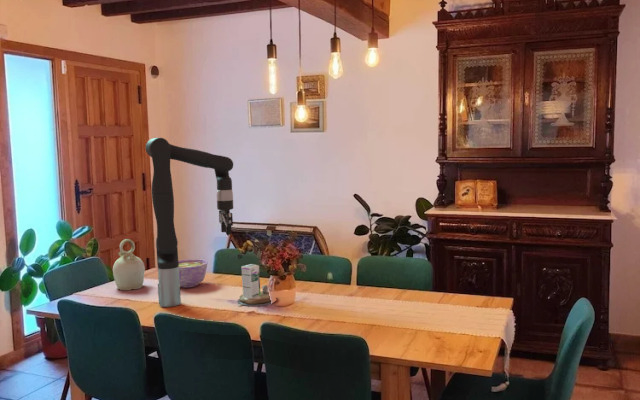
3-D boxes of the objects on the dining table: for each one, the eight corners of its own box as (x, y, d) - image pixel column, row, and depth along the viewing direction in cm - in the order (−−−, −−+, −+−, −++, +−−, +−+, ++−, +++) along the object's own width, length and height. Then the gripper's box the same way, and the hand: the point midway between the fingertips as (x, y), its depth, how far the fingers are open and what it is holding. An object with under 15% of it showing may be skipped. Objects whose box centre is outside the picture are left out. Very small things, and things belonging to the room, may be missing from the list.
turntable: (232, 301, 272) (232, 291, 272) (254, 292, 286) (254, 283, 285) (260, 305, 264) (260, 295, 263) (281, 296, 277) (281, 286, 277)
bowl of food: (161, 289, 300) (159, 266, 299) (181, 280, 319) (180, 258, 318) (196, 291, 295) (195, 268, 293) (215, 281, 314) (214, 259, 312)
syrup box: (251, 299, 268) (250, 267, 267) (242, 297, 272) (241, 265, 271) (260, 296, 273) (259, 264, 271) (251, 294, 277) (250, 263, 275)
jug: (112, 286, 310) (109, 238, 308) (143, 282, 317) (140, 235, 314) (115, 292, 297) (112, 243, 294) (148, 288, 303) (144, 239, 300)
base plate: (242, 309, 262) (242, 307, 262) (229, 299, 278) (229, 298, 278) (283, 302, 271) (283, 301, 271) (268, 293, 287) (268, 292, 287)
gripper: (237, 200, 278) (238, 234, 280) (228, 197, 291) (229, 230, 292) (221, 201, 275) (222, 236, 276) (213, 198, 287) (214, 232, 289)
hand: (226, 233), depth 284 cm, fingers open, 8 cm apart
